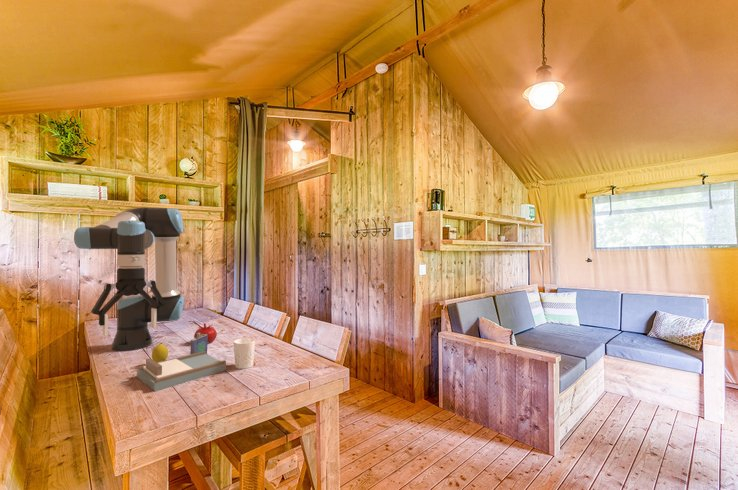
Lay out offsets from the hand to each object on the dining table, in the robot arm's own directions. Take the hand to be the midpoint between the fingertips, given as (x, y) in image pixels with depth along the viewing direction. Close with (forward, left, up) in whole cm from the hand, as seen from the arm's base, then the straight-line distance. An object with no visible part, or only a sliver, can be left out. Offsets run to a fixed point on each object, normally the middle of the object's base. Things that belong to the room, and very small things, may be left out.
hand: (130, 331), depth 111 cm
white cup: (+10, +35, -19) cm, 41 cm away
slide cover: (0, +11, -16) cm, 20 cm away
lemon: (-17, +14, -19) cm, 29 cm away
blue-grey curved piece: (-12, +27, -19) cm, 36 cm away
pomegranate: (-33, +39, -19) cm, 55 cm away
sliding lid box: (0, +16, -19) cm, 25 cm away
